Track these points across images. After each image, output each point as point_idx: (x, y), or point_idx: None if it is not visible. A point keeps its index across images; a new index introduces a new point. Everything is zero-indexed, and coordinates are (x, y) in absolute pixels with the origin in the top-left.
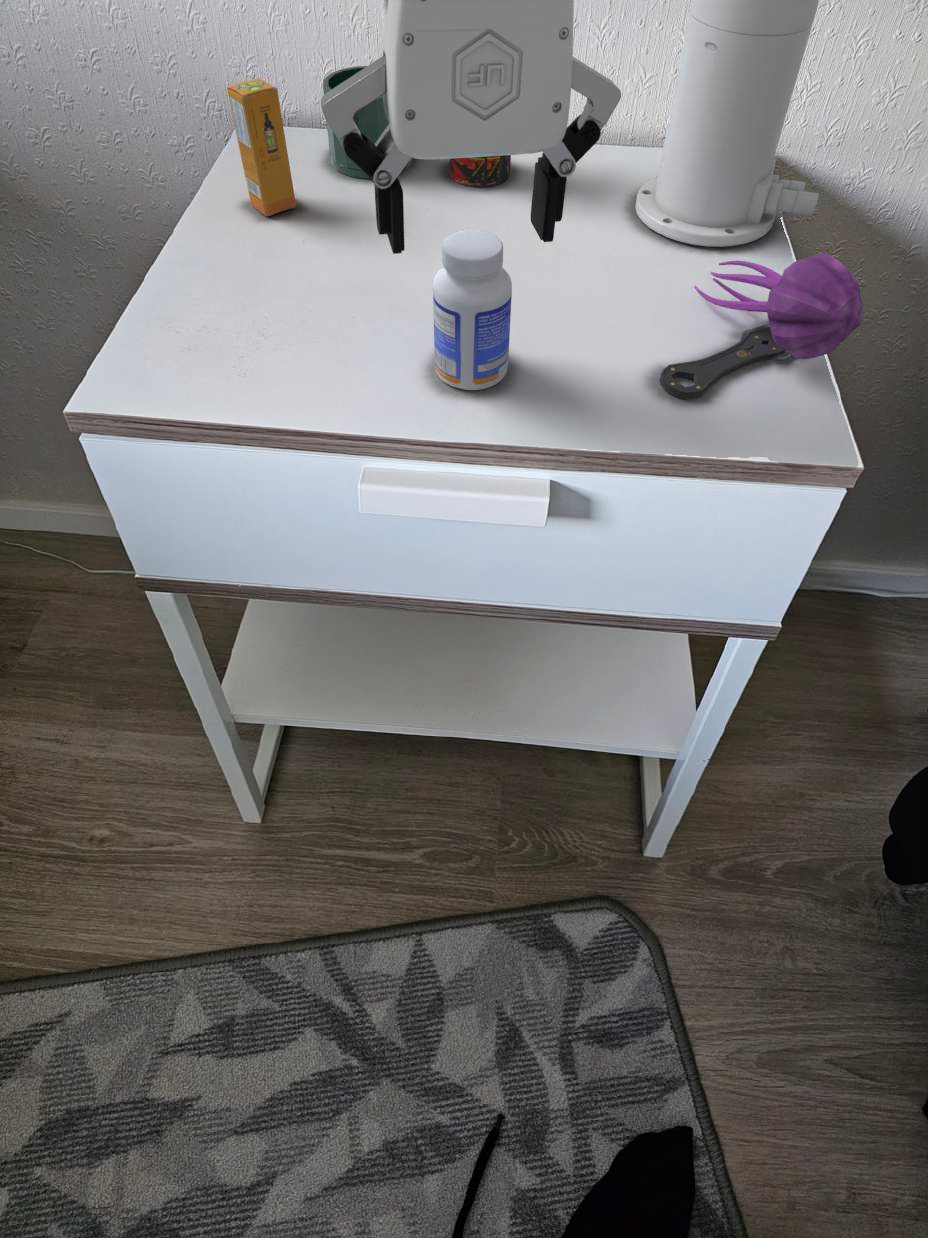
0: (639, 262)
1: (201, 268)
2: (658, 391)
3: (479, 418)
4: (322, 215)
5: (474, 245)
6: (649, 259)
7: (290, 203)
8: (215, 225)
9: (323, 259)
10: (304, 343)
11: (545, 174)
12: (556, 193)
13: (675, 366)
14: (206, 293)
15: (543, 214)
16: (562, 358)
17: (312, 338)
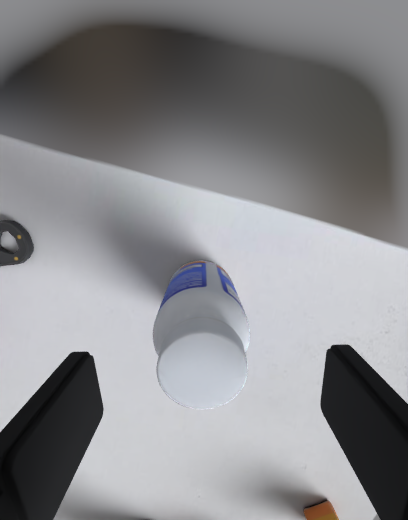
0: None
1: None
2: (37, 237)
3: (205, 223)
4: (283, 497)
5: (200, 368)
6: None
7: (309, 513)
8: None
9: (294, 445)
10: (332, 343)
11: (15, 492)
12: (9, 428)
13: (13, 261)
14: None
15: (68, 392)
16: (118, 295)
17: (324, 349)
